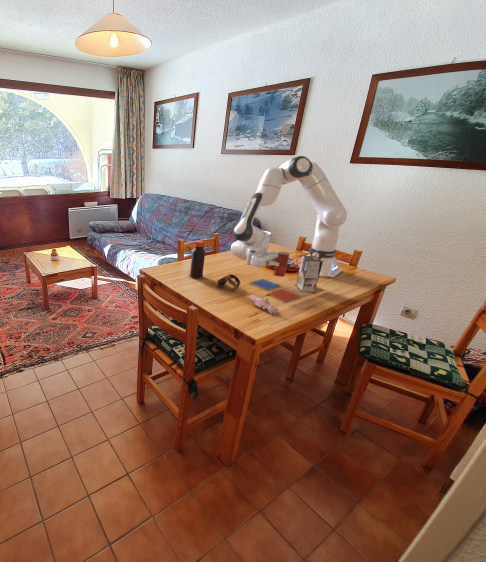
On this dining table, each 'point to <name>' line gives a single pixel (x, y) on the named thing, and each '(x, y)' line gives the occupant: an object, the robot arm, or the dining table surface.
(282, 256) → the rust-red canister
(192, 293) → the dining table surface
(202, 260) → the bottle
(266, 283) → the blue mat
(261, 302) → the pink elongated piece
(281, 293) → the terracotta mat
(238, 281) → the brown headphones
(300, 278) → the coffee box
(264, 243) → the utensil holder
